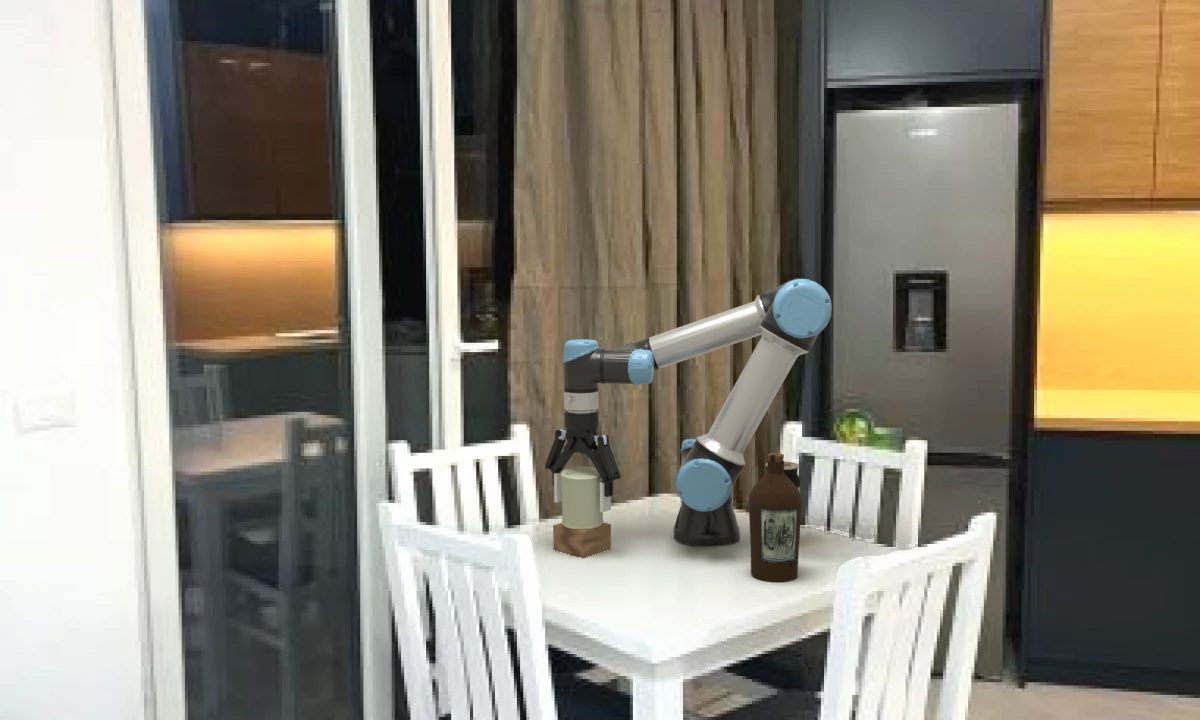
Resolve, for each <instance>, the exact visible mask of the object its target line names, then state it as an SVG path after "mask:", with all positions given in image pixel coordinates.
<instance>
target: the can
mask: <svg viewBox="0 0 1200 720" xmlns="http://www.w3.org/2000/svg"><path fill="white" fill-rule="evenodd" d="M562 470H563V471H561V481H562V502H561V506H562V507H561V510H562V511H561V513H562V514H561V515H562V517H561V523H562V525H563V526H565V527H567V528H570V529H576V530H587V529H593V528H597V527H599V526H601V525H602V524H603V522H604V512H600V482H601V481H602V478H601V476H600V475H599V473H598V471H597V470H596V468H595V466H587V465H585V466H584V465H583V466H580V465H579V466H573V467H568V468H564V469H562ZM604 523H605V522H604Z"/></svg>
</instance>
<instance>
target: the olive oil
mask: <svg viewBox="0 0 1200 720" xmlns="http://www.w3.org/2000/svg"><path fill="white" fill-rule="evenodd" d="M784 456H785V455H784V454H783V453H779V452H771V453H768V454H767V459H768V460H767V461H766V463H767V467H766V471H767V472H766V473H765V474H764V475H763V476H762V477H761V478H760V479H759V480H758V481H757V483H756V484H754V485H753V487H752V488H751V491H750V494H749V498H748V515H749V539H750V540H749V543H750V546H749V547H750V574H751V576H752V577H753V578H754V579H757V580H760V581H765V582H772V583H782V582H790V581H794V580H795V579H797V578H798V572H799V571H798V570H799V554H800V553H799V551H800V535H801V534H800V533H801V522H802V507H803V501H802V496H801V491H800V492H799V490H798V488H797V487H796V486H795V485H794V484H793V483H792V481H791V480H790V479H789V478H788V477H787V476H786V475H785V473H784V461H785V460H784V458H785V457H784Z"/></svg>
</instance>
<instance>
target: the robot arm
mask: <svg viewBox="0 0 1200 720" xmlns="http://www.w3.org/2000/svg"><path fill="white" fill-rule="evenodd" d="M832 306H833V305H832V301H831V296H830V295H829V294H828V291H827V290H826V289H825V288H824V287H823V286H822V285H820V283H819V284H818V282H816V281H813V280H811V279H807V278H803V277H802V278H798V277H797V278H794V279H790V280H788V281H786V282H784V283H783V284H781V285H778V286H777V287H775V288H773V289H771V290H769V291H766V292H764V293H761V294H757V296H756V298H755V299H754V301H751V302H748V303H745V304H743V305H739V306H737V307H734V308H731V309H728V310H725V311H722V312H719V313H717V314H713V315H710V316H708V317H705V318H702V319H699V320H696V321H694V322H690V323H688V324H684V325H682V326H679V327H676V328H673V329H671V330H668V331H664V332H661V333H659V334H655V335H653V336H650V337H647V338H643V339H641V340H639V341H635V342H634V341H633V342H629V343H627V344H625V345H623V346H622V347H620V348H619V349H604V348H603V349H602V348H600V347H599V342H598V341H597V340H595V339H587V338H586V339H580V338H579V339H571V340H570V339H569V340H568V341H566V342H565V343H564V345H563V346H564V347H563V348H564V349H563V361H562V364H563V365H562V366H563V397H564V398H563V399H564V400H563V402H564V405H563V407H564V410H566V411H564V412H563V417H564V420H563V421H564V422H563V423H564V424H563V425H564V426H563V427H564V428H561V429H556V430H555V431H554V440H553V443H552V446H551V448H550V451H549V454H548V455H547V459H546V462H545V464H544V467H545V469H547V470H550V471H551V473H552V474H551V476H552V477H551V478H552V487H553V489H554V490H553V491H554V494H553V495H554V497H553V499H554V500H553V501H554V503H556V504H557V503H560V502H561V503H562V481H561V472H562V471H563V470H564V469H565V467H566V465H567V464H568V462H569V461H570V460H571V457H573V455H574V453H575V454H576V453H578V454H579V453H580V454H581V455H586V456H587V458H589V459H590V461H591V463H592V464H593V467H594V468H596V470H597V471H598V473H599V475H600V476H601V478H602V481H601V482H600V512H603V513H605V512H608V511H611V510H612V496H613V494H614V482H615V480H619V479H621V477H622V476H621V473H620V470H619V466H618V464H617V462H616V459H615V456H614V454H613V451H612V448H611V446H610V445H611V444H610V437H609V435H608V434H603V435H598V433H597V430H598V428H599V426H600V425H599V424H600V421H599V412H598V411H597V410H598V409H599V401H600V400H599V384H601V385H605V384H608V385H609V384H611V385H612V384H613V385H614V384H616V385H635V386H639V385H650V384H651V383H652V382H653V380H654V373H655V371H657V370H660V369H663V368H665V367H669V366H672V365H676V364H678V363H681V362H683V361H687V360H690V359H693V358H695V357H699V356H702V355H705V354H708V353H711V352H714V351H716V350H720V349H724V348H726V347H729V346H731V345H734V344H738V343H741V342H744V341H747V340H751V339H752V338H755V337H759V336H761V338H760V339H759V341H758V343H757V344H756V346H755V348H754V350H753V351H752V353H751V355H750V357H749V359H748V360H747V363H746V364H745V366H744V368H743V370H742V372H741V373H740V375H739V377H738V379H737V380H736V382H735V384H734V386H733V388H732V389H731V391H730V393H729V395H728V396H727V398H726V400H725V402H724V403H723V406H722V407H721V408H720V411H719V413H718V415H717V416H716V418H715V420H714V421H713V424H711V427H710V429H709V431H707V432H708V433H706V434H703V435H699V436H697V438H686V439H684V440H683V441H682V443H681V449H680V453H681V461H680V463H681V464H680V467H679V470H678V471H677V473H676V476H675V477H676V478H675V488H676V491H677V493H678V496H679V498H680V500H681V502H680V503H681V504H680V508H679V510H678V513H677V516H676V519H675V523H674V526H673V539H674V540H675V541H677V542H678V543H682V544H684V545H689V546H697V547H721V546H728V545H732V544H735V543H737V542H738V541H740V539H741V538H740V532H741V531H740V526H739V525H738V519H737V516H736V513H735V510H734V507H733V486H734V484H736V480H737V479H738V477H739V475H740V474H741V472H742V470H743V468H744V466H745V465H746V461H745V458H744V452H745V451H746V448H747V447H748V445H749V443H750V442H751V440H752V438H753V436H754V434H755V432H756V431H757V429H758V428H759V425H760V424H761V422H762V421H763V419H764V417H765V415H766V413H767V412H768V409H769V408H770V406H771V405H772V403H773V401H774V399H775V397H776V396H777V394H778V392H779V390H780V388H781V387H782V385H783V383H784V381H785V379H787V376H788V374H789V373H790V371H791V369H792V367H793V366H794V364H795V362H796V360H797V358H798V357H799V356H802V355H804V354H808V353H809V352H810V350H811V349H812V346H813V345H814V343H815V342H816V340H817V338H818V336H819V334H820V333H821V332H822V331H823V330H824V329H825V328H826V327H827V325H829V322H830V320H831V317H832V310H833V307H832ZM566 441H567V443H566Z"/></svg>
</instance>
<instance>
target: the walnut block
mask: <svg viewBox="0 0 1200 720" xmlns="http://www.w3.org/2000/svg"><path fill="white" fill-rule="evenodd" d="M552 528H553V530H552V533H553V534H552V537H553V540H552V541H553V542H552V543H553V548H552V549H553V550H555V551H554V552H556V551H558V552H557V553H560V552H562V553H561V554H564V553H566V554H565V555H568V554H570V555H569V556H572V555H573V557H575V556H576V557H575V558H579V557H581V558H580V559H586V557H587V558H589V557H588V556H590V557H593V556H596V555H598V553H599V554H602V553H605V552H604V551H606V552H608V551H607V550H609V551H611V550H612V524H611V523H608V522H603V524H602V525H601V526H599V527H597V528H593V529H587V530H576V529H570V528H567V527H565V526H563V525H562V522H559V523H556V524H553V525H552ZM610 549H611V550H610ZM601 552H602V553H601ZM595 554H596V555H595ZM592 555H593V556H592Z"/></svg>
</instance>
